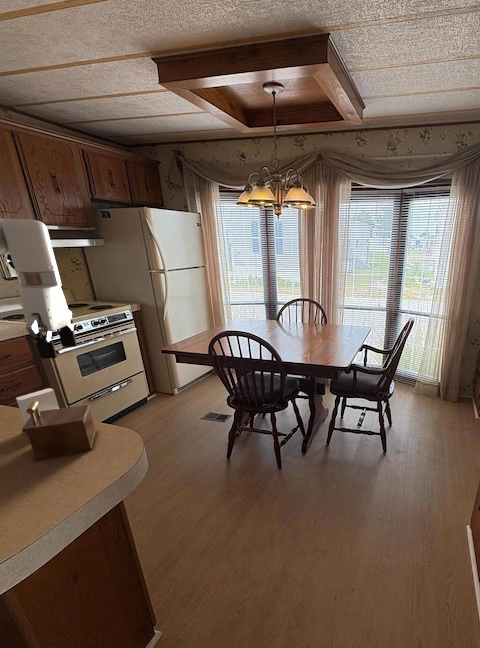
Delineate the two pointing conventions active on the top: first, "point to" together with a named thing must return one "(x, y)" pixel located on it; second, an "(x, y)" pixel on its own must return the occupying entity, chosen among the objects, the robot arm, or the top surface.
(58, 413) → the compartment lid
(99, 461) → the top surface
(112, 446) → the top surface
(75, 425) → the compartment
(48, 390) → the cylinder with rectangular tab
